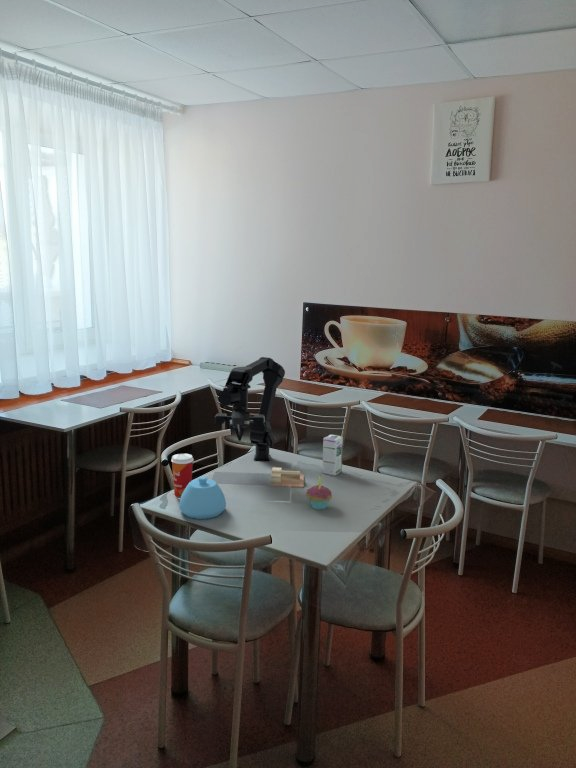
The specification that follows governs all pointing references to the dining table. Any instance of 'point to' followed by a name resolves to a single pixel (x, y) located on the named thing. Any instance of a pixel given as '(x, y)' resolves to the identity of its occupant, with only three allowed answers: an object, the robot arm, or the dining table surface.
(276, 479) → the t block
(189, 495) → the blue dome lid
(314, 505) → the cupcake
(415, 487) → the dining table surface
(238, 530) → the dining table surface
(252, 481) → the push board
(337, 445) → the syrup box
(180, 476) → the paper cup
